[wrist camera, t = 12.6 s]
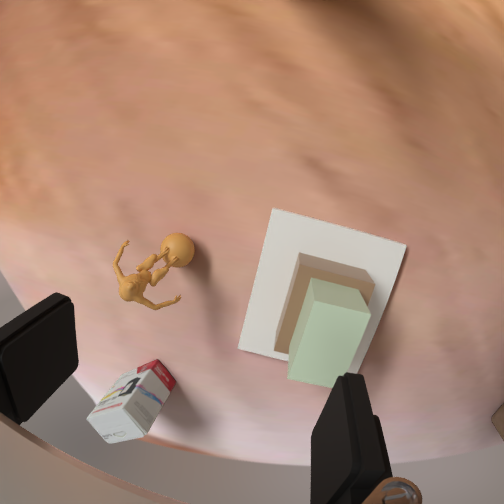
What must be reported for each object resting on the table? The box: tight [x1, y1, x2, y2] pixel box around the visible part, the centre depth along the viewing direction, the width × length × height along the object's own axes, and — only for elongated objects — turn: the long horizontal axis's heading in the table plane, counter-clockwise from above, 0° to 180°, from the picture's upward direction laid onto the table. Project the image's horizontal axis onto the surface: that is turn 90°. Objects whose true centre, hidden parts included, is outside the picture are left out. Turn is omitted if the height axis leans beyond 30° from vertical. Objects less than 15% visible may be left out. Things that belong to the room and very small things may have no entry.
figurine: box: [113, 233, 195, 310], centre depth 33 cm, size 8×6×12 cm
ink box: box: [87, 359, 176, 443], centre depth 39 cm, size 9×5×12 cm, turn 121°
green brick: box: [287, 278, 371, 388], centre depth 29 cm, size 8×5×6 cm, turn 167°
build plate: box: [238, 207, 407, 374], centre depth 35 cm, size 18×16×6 cm
